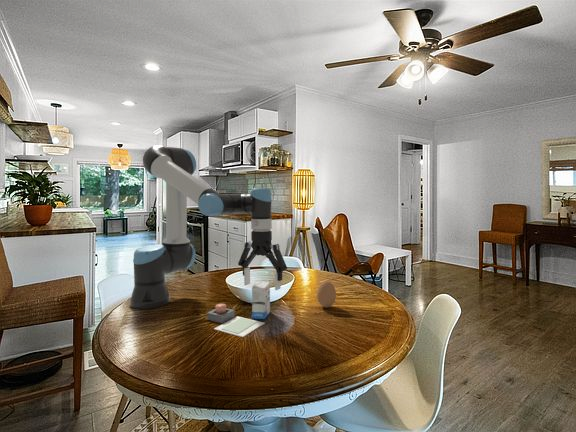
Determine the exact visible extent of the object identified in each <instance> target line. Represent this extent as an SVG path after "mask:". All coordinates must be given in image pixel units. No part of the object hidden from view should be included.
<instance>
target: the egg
mask: <svg viewBox="0 0 576 432" xmlns="http://www.w3.org/2000/svg"><path fill="white" fill-rule="evenodd" d="M316 299H317V301H318V304H319V305H321V307H323V308H326V309H327V308H328V309H329V308H331V307H332V306H333V305H334V304H335V302H336V299H337V293H336V288H335V286H334V284H333V283H332V282H331V281H329V280H324V281H322V282H321V283H320V284H319V286H318V289H317V291H316Z"/></svg>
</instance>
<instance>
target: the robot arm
mask: <svg viewBox="0 0 576 432" xmlns="http://www.w3.org/2000/svg"><path fill="white" fill-rule="evenodd" d="M196 160H197V159H196V157H195V155H194V154H193V153H192V152H191V151H190V150H188V149H185V148H181V147H175V146H165V145H153V146H151V147H149V148H148V149H146V151H144V153H143V156H142V164H143V166H144V168H145V170H146V171H147V172H148V173H149V174H150V175H152V176H153V177H154V178H156V179H161V180H163V181H164V182H165V188H166V190H165V197H166V198H165V203H166V205H165V217H166V218H165V221H166V222H165V232H166V233H165V238H164V239H163V240H162V244H157V243H156V244H151V245H150V244H148V245H143V246H141V247H138V248H137V249H135V251H134V253H133V259H132V262H133V279H134V282H133V283H134V284H133V285H134V286H133V290H132V292H131V293H132V294H131V297H130V299H129V304H130V307H131V308H133V309H136V310H137V309H139V310H148V309H155V308H159V307H162V306H166V305H167V304H168V303H170V301H171V297H170V296H171V295H170V293H169V290H168V287H167V285H166V275H168V274H171V273H175V272H181V271H184V270H187V269H188V268H190V267H192V265H194V262H195V260H196V256H197V255H196V249H195V248H194V246H193V245H192V244H191V240H190V239H189V238H188V237H187V234H188V233H187V231H188V230H187V226H188V224H187V223H188V222H187V221H188V219H187V218H188V217H187V214H188V212H187V211H188V210H187V207H188V206H187V205H188V203H187V202H188V199H189V200H191V201H193V203H195V204H197V207H198V210H199V211H200V214H201V215H204V216H206V217H216V216H225V215H238V214H240V215H241V214H247V215H248V214H249V215H250V218H251V219H250V221H251V223H250V224H251V225H250V228H251V232H250V234H251V235H250V237H251V241H246V242H244V249H243V250H242V252H241V255H240V258H239V260H238V263H237V264H238V266H241V268H242V276H243V278H244V280H243V281H244V282H243V283H244V286H248V285H250V284H251V266H249V265H250V264H252V261H253V260H254V259H255V258H256V256H262V257H266V258H267V259H268V260H269V262H270V263H271V265H272V266H273V268H274V269H275V270H276V271H275V272H274V290H275V291H279V290H281V282H282V280H283V272H284V271H287V269H288V266H287V264H286V261H285V259H284V257H283V255H282V252H281V250H280V244H279V243H277V244H272V238H273V237H272V236H273V235H272V234H273V232H272V229H273V226H272V224H273V223H272V202H273V200H272V191H271V189H269V188H262V187H260V188H259V187H257V188H256V187H255V188H254V187H253V188H251V189H250V193H219V192H218V191H216V190H214V189H213V188H212V187H210V186H209V185H207V184H206V183H204V182H202V180H199V178H197V177H195V176H194V175H193V174H194V173H195V171H196V170H197V161H196ZM187 198H188V199H187ZM251 248H252V250H251ZM250 250H251V251H250ZM249 253H250V254H249Z"/></svg>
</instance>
